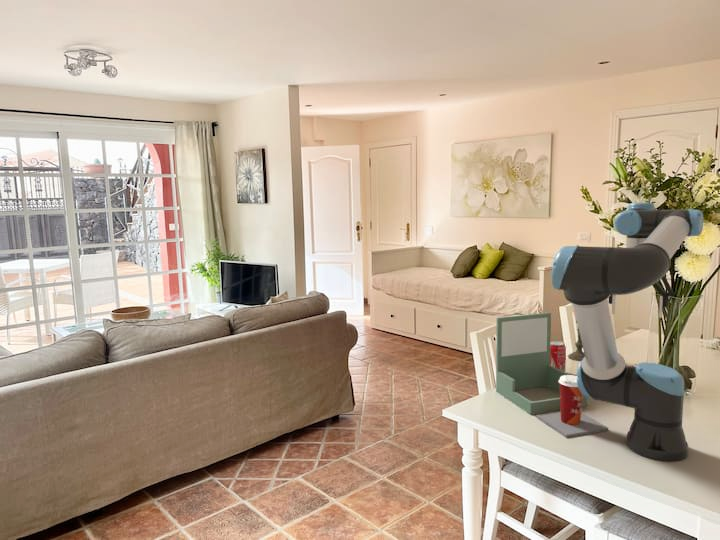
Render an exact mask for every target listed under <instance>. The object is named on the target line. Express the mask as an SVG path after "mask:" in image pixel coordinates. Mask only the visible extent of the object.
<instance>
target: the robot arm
mask: <svg viewBox="0 0 720 540" xmlns="http://www.w3.org/2000/svg"><path fill="white" fill-rule="evenodd" d="M613 226H614V228H615V231H616V232H617V233H619V234H620V235H623V236H625V237H626V240H625V241H626V242H625V243H626V244H625V247H611V246H610V247H609V246H584V245H583V246H580V245H578V244H577V245H565V246H562V247H561V248H560V249H559V250H558V251H557V253H556V254H555V257H554V260H553V263H552V266H551V267H552V268H551V276H550V278H551V279H550V280H551V285H552V287H553V288H554V289H555V290H558V291H560V290H561V291H563V295H564V297H565V300H566V301H567V302H568V303H570V304H571V305H572V306H573V311H574V314H575V315H574V316H575V319H576V320H577V323H576V324H577V329H578V328H579V333H580V337H581V341H582V346H583V348H582V351H583V353H584V354H585V357H584V358H583V360H582V361H579V363H578V366H577V370H576V376H577V385H578V388H579V390H580V392H581V393H582V394H583V395H584V396H586V397H588V398H590V399H592V400H594V401H600V402H605V403H610V404H613V405H618V406H622V407H626V408H631V409H633V410H634V413H633V415H634V416H633V419H632V422H631V425H630V427H629V430H628V431H627V433H626V438H625V439H626V440H625V443H626V446H627V447H628V448H629V450H631V451H633V452H634V453H636V454H638V455H641V456H643V457H646V458H649V459H652V460H657V461H663V462H675V461H676V462H677V461H683V460H684V459H686V458H688V455H689V444H688V442H687V441H686V440H687V439H686V436H685V435H686V434H685V431H684V429H683V414H684V399H685V398H684V397H685V396H684V395H685V394H686V393H685V392H686V391H685V379H684V376H683V375H682V374H681V373H680V372H678V371H677V370H676V369H674V368H672V367H670V366H666V365H663V364H660V363H655V362H639V363H638V364H637V365H636V366H632V365H628V364H626V360H625V358H624V356H623V355H622V354H620V353H619V352H618V348H617V342H616V337H615V332H614V327H613V322H612V317H611V314H612V315H615V313H616V296H623V295H630V294H635V293H637V292H640V291H642V290H645V289H647V288H649V287H651V286H652V287H654V288H655V289H656V291H657V292H658V293H659V295H660V296H659V310H658V318H659V319H662V318H663V308H667V306H668V304H667V303H668V298H669V297H673V296H674V295H675V293H674V292H675V291H673V289H672V286H671V284H670V283H669V280H668V279H667V277H666V274H667V273H668V272H669V270H670V267H671V259H672V258H673V256H674V255H675V253H676V252H677V250H678V249H679V248H680V246H681V244H683V242H684V241H685V240H686V238H687V237H698V236H700V235H702V232H703V229H704V213H703V211H702V210H700V209H689V208H687V209H685V208H684V209H655V204H654V203H653V202H632V203H628V205H627V209H626V210H623V211H621V212H619V213H618V214H617V215H616V217H615V218H614V221H613ZM660 280H661V281H662V283H663V285H664V287H665V289H666V290H664V289H663V288H662V286H660V284H659V283H658V282H659V281H660ZM609 305H611V310H610V307H609ZM610 311H611V312H610Z"/></svg>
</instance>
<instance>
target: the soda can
mask: <svg viewBox="0 0 720 540" xmlns="http://www.w3.org/2000/svg"><path fill="white" fill-rule="evenodd" d="M566 348H567V347H566V344H565V342H564V341H561V340H550V365H551V366H553V367H555V368H557V369H559V370H561V371H563V372H565V373H566V363H567V359H566V357H567V355H566V354H567V349H566Z"/></svg>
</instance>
